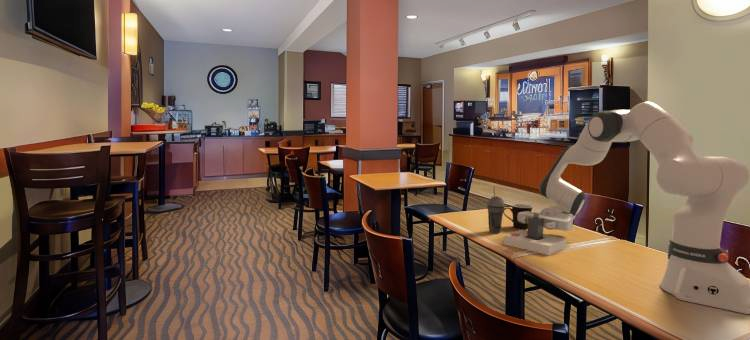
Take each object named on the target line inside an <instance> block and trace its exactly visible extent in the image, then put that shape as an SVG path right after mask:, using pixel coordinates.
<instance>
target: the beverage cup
mask: <svg viewBox="0 0 750 340" xmlns="http://www.w3.org/2000/svg"><path fill="white" fill-rule="evenodd" d="M492 188H493V196H492V197H490V198H489V200H488V202H487V205H486V206H487V211H488V213H487V215H488V217H487V218H488V232H489V233H491V234H501V229H502V223H503V215H504V213H503V211H504V212H505V210H504V208H506V206H505V202H504V200H503V198H502V197H500V196H496V189H495V188H496V187H495V185H493V187H492Z"/></svg>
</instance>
